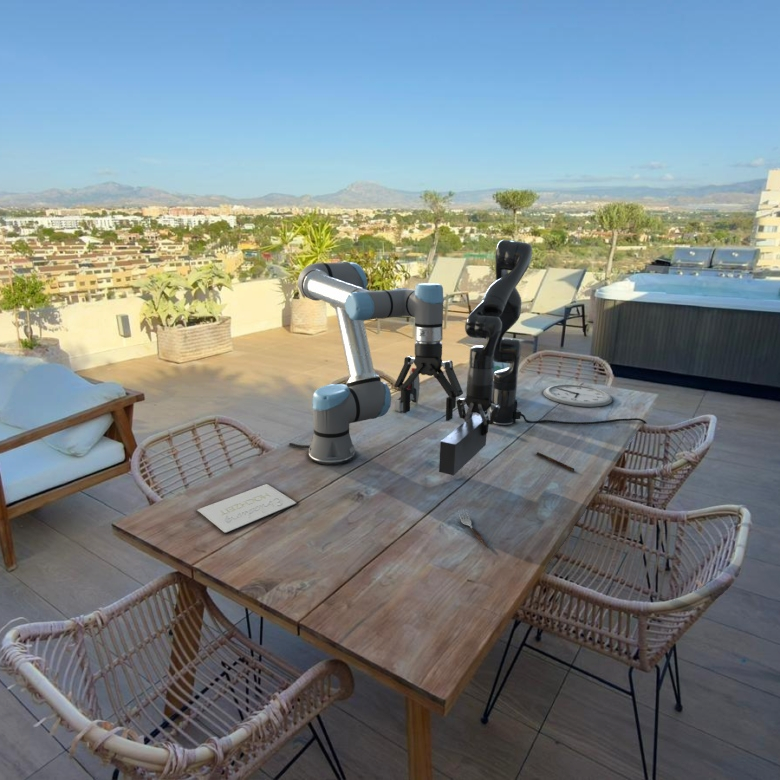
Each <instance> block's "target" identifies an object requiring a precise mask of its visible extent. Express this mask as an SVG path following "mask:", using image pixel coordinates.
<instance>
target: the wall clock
mask: <svg viewBox="0 0 780 780" xmlns="http://www.w3.org/2000/svg"><path fill="white" fill-rule="evenodd" d="M543 396H544V397H546V398H547V399H549V400H551V401H554V402H555V403H560V404H563V405H569V406H574V407H585V408H586V407H588V408H594V407H595V408H596V407H604V406H609V405H610V404H611V403H612V402H613V398H612V396H611V395H610V394H608V393H607V392H605V391H604V390H601V389H598V388H594V387H590V386H586V385H579V384H556V385H551V386H549V387H546V388H545V389H544V390H543Z"/></svg>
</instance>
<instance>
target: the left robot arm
mask: <svg viewBox="0 0 780 780" xmlns="http://www.w3.org/2000/svg"><path fill="white" fill-rule="evenodd" d="M297 286H298V290H299V292H300V293H301V294H302V295H303V296H304V297H305V298H307V299H309V300H311V301H316V302H318V301H323V302H324V303H327V304H329V305H330V307H331V308H334V309H335V314H336V318H337V324H338V329H339V334H340V339H341V343H342V347H343V352H344V357H345V362H346V366H347V367H346V368H347V371H348V376H349V378H348V380H347V381H346V383H345V384H343V383H336V384H335V383H331V384H327V385H323V386H321V387H319V388H317V389H316V390H315V391H314V392H313V395H312V419H313V422H312V423H313V435H312V439H311V442H310V444H309V445H308V444H296V443H293V442H289V443H288V445H289V446H290V447H294V448H299V449H308V458H309V460H311V462H314V463H317V464H319V465H328V466H330V465H331V466H333V465H334V466H335V465H341V464H345V463H348V462H351V461H352V460H353V459H354V458H355V457H356V448H355V447H356V446H355V445H354V444H353V440H352V437H351V434H350V424H353V423H358V422H363V421H367V420H374V419H377V418H380V417H383V416H385V415H387V413H389V410H390V407H391V403H392V393H391V390H390V387H389V386H388V384H387V383H386V382H384V381H382V379H381V376H380V375H379V374H378V373H376V372H375V368H374V363H373V360H372V354H371V350H370V345H369V341H368V339H369V338H368V336H367V335H368V334H367V330H366V326H365V322H366V321H369V320H370V321H371V320H380V319H388V318H389V319H391V318H401V317H411V318H414V341H415V342H414V357H413V356H412V355H409V356H406V357H404V361H403V365H402V368H401V370H400V372H399V374H398V375H397V378H396V380H395V383H394V387H395V388H398V389H399V390H400V397H401V401H403V410H402V414H407V413H408V412H411V402H410V389H407V388H409V386H410V384H411V383H412V382H413V381H414V380H415V379H416V377H417V376H418V375H419V376H420V375H422V376H425V375H426V376H429V377H432V376H433V377H434V379H436V380H437V381H438V383H439V384H440V386H441V387H442V389H443V390H444V392H445V393H446V394H447V397H446V399H445V421H446V422H449V421H451V420H452V419H453V417H454V416H453V413H454V409H456V408H457V403H456V401H457V398H460V397H461V396H462V395H463V394H464V391H463V389H462V387H461V384H460V382H459V378H458V377H457V374H456V372H455V370H454V362H453V360H451V359H450V360H448V361H447V360H445V361H444V360H443V358H442V357H443V343H442V341H443V326H444V325H443V323H444V301H445V299H444V287H443V285H441V284H440V283H432V282H430V283H429V282H427V283H424V282H423V283H417V284H416V285H415V286H414V288H415V289H410V288H407V287H402V288H401V287H398V288H397V287H396V288H394V289H386V290H368V287H367V286H368V279H367V275H366V272H365V271H364V269H363V268H362V266H361V265H359V263H356V262H349V261H342V262H315V263H312V264H309V265H307V266H305V267H304V268H303V269H302V270H301V271H300V273H299V275H298V278H297ZM412 365H414V366H415V368H416V369H415V370H414V371H413V373H412V374H411V375H410V374H409V373H410V370H411V367H412ZM442 367H443V369H444V370H445V373H444V371H443V370H442ZM408 374H409V375H410V376H409V375H408ZM445 374H446V376H447V377H446V376H445ZM407 376H408V377H407Z"/></svg>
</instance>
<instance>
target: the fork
mask: <svg viewBox="0 0 780 780" xmlns="http://www.w3.org/2000/svg"><path fill="white" fill-rule="evenodd" d="M457 512H458V516H459V519H460V521H461V523H462V524H463V525H464V526H468V527H469V528H470V529H471V531H472V533H473V534H474V537H476V539H478V541H480V543H481V544H482V545H483V546H484V547H485V548H486V549H489V547H488V545H487V543H486V541H485V540H484V539H483V537H482V535H481V534H480V532H479V531H477V529H475V528H474V527H473V525H472V519H471V518H470V516H469V514H468V511H467V510H464V509H462V510H459V509H457ZM465 512H466V513H465Z"/></svg>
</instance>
